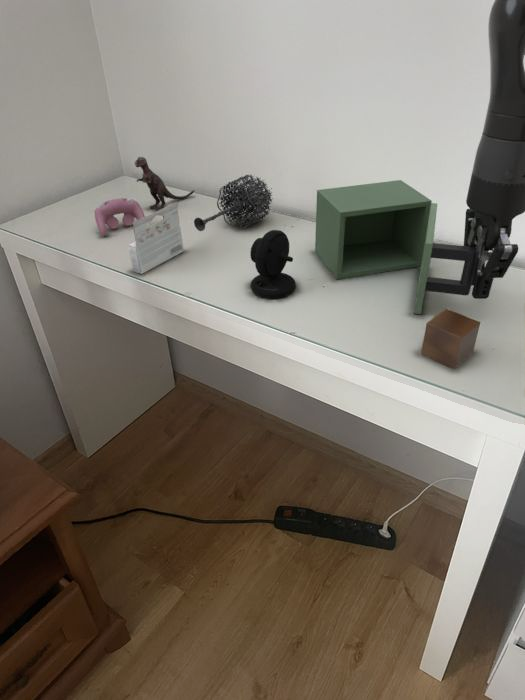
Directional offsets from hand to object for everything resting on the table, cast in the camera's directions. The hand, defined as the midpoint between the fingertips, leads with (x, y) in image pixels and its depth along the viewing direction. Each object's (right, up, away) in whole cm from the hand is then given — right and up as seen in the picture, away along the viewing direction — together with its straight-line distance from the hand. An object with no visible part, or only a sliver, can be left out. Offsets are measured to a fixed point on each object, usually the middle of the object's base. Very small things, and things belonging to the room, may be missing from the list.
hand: (475, 290), depth 77 cm
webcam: (-29, +1, +11) cm, 31 cm away
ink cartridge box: (-50, +7, +20) cm, 54 cm away
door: (-2, +1, +8) cm, 9 cm away
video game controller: (-60, +16, +34) cm, 71 cm away
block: (-6, -9, -5) cm, 12 cm away
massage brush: (-36, +16, +32) cm, 51 cm away
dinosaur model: (-52, +24, +44) cm, 73 cm away
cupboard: (-12, +8, +19) cm, 24 cm away
